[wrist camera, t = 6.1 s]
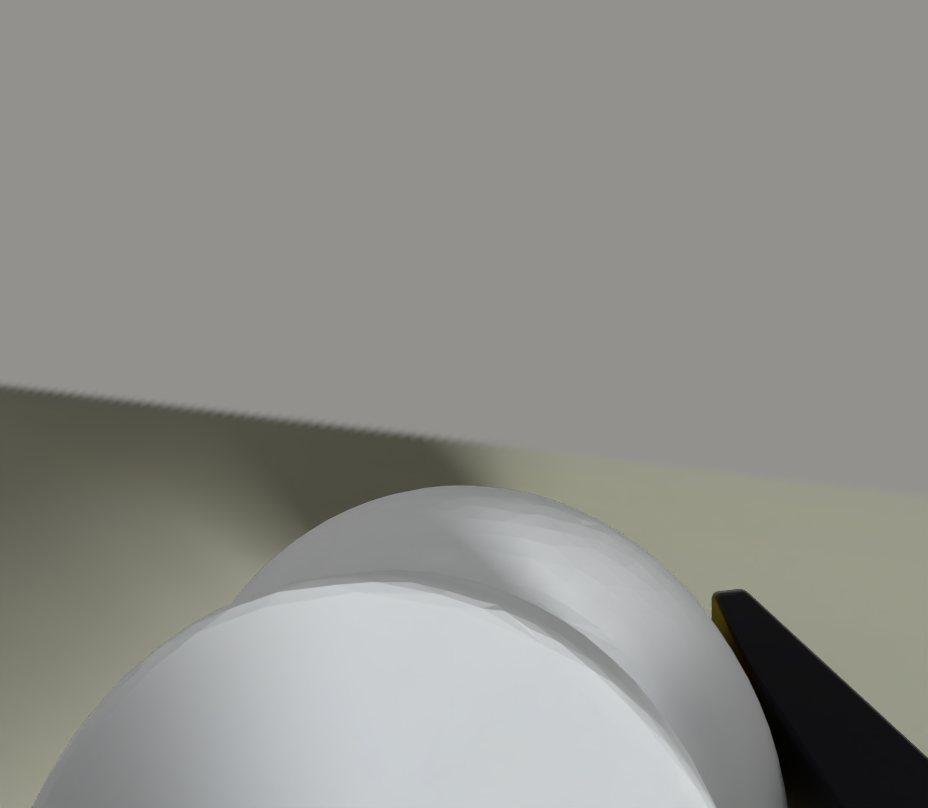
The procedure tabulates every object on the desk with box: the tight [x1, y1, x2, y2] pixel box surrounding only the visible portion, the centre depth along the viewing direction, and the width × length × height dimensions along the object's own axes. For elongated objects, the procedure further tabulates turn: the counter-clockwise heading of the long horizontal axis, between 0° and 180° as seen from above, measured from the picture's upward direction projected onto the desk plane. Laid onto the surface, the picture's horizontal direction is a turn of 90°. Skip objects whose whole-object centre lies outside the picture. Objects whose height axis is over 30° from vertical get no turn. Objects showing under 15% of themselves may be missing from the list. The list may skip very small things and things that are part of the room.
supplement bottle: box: [32, 485, 788, 808], centre depth 10 cm, size 7×7×13 cm
